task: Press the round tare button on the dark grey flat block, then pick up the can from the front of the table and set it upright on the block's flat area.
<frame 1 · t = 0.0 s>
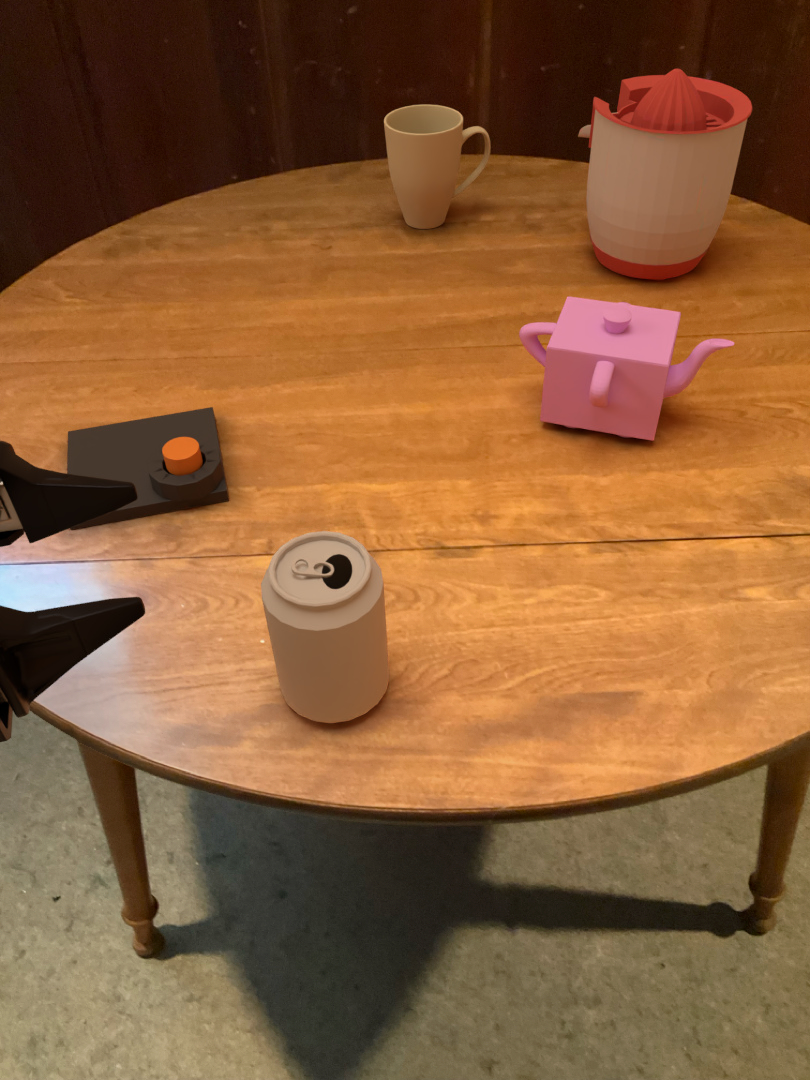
hand: (139, 544, 51), 16 cm above the table, tool horizontal, fingers open, 9 cm apart
teapot: (610, 417, 84), on the table
citrus juicer: (639, 256, 105), on the table
can: (335, 686, 64), on the table
mug: (432, 219, 114), on the table
dark grey flat block: (147, 470, 81), on the table
tare button: (182, 456, 76), point 4 cm above the table, slide at 0.2 cm
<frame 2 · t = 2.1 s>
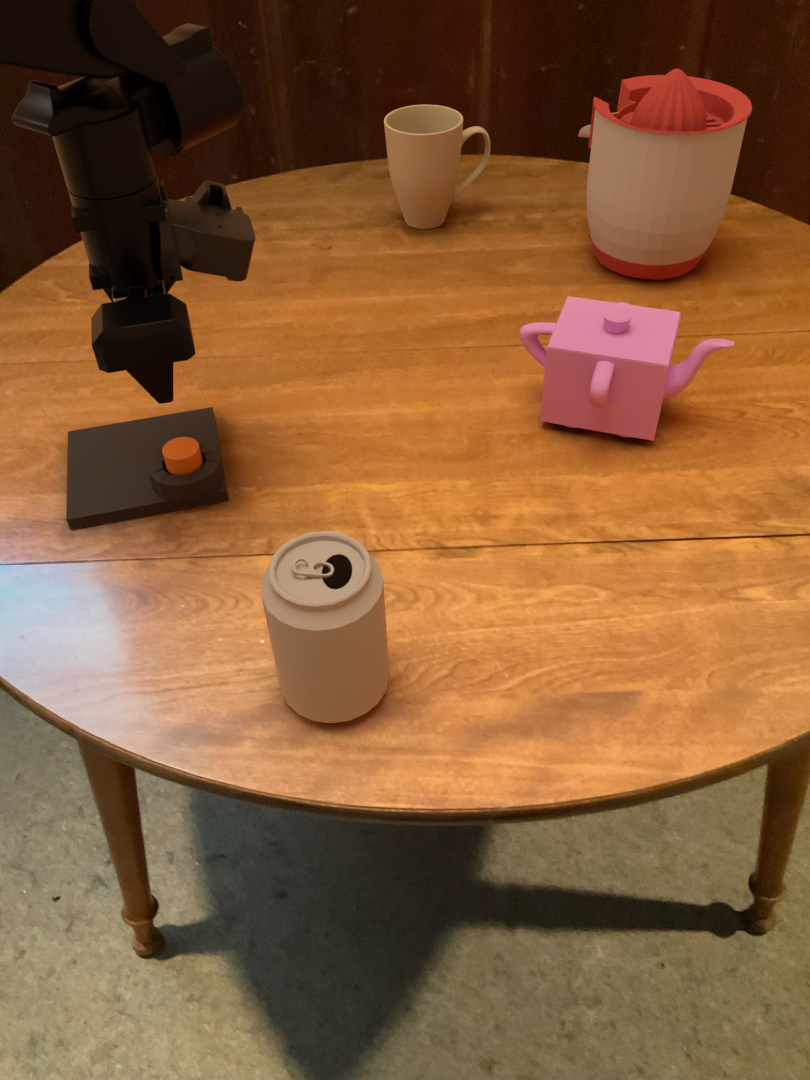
hand: (163, 380, 71), 11 cm above the table, tool pointing down, fingers open, 5 cm apart
nothing on the table moved.
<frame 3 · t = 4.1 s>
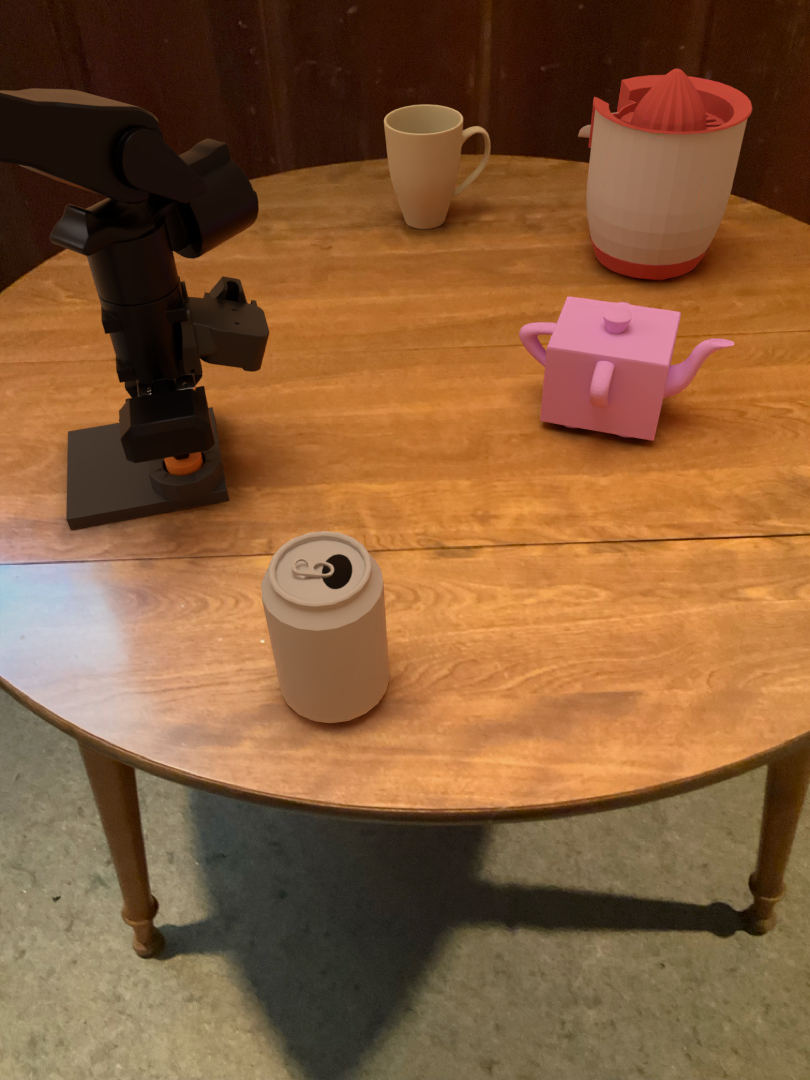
hand: (182, 456, 76), 4 cm above the table, tool pointing down, fingers closed, pressing on tare button
tare button: (184, 464, 77), point 3 cm above the table, slide at -0.7 cm, touching gripper
everything else where it was.
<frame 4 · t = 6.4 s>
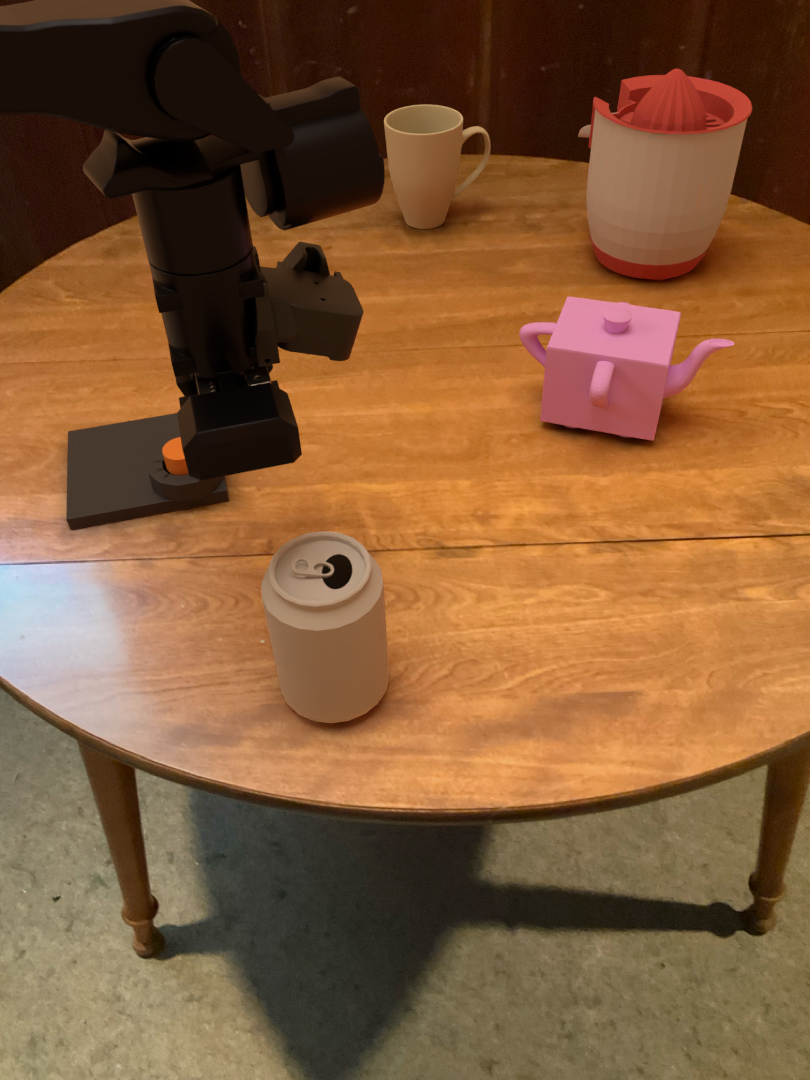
hand: (244, 468, 61), 12 cm above the table, tool pointing down, fingers closed
tare button: (182, 456, 76), point 4 cm above the table, slide at 0.2 cm
everything else where it was.
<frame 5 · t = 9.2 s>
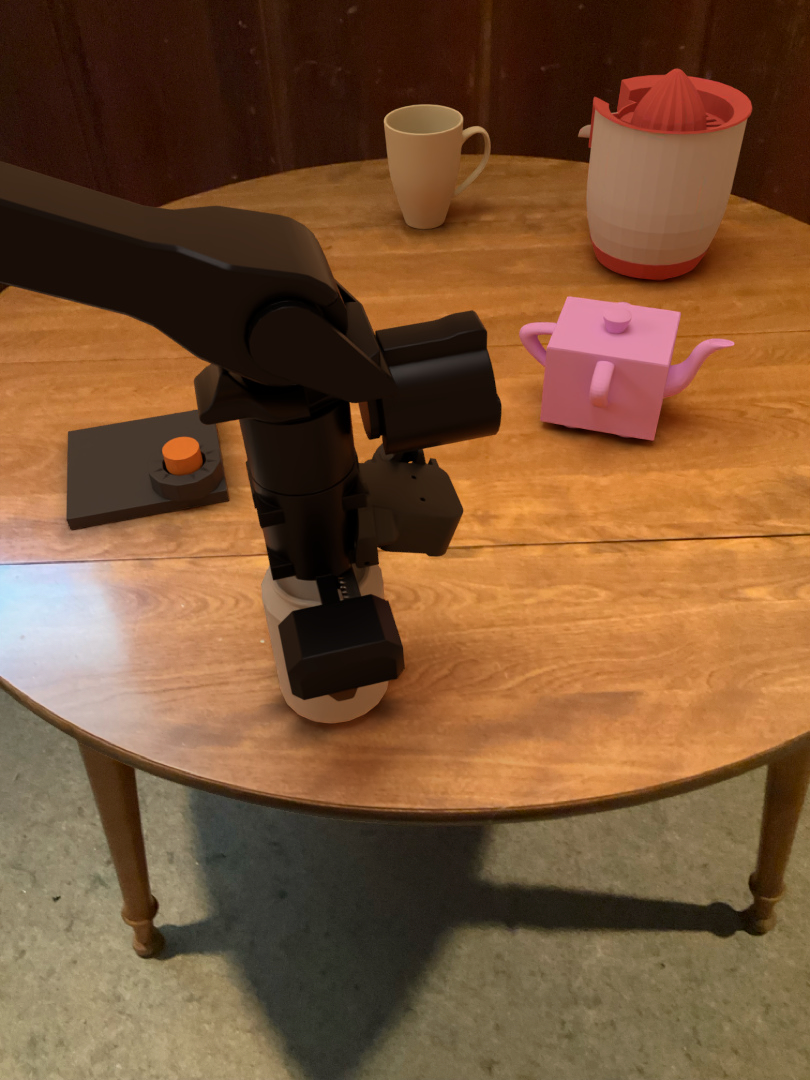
hand: (332, 643, 61), 4 cm above the table, tool pointing down
can: (336, 686, 64), on the table, touching gripper
everything else where it was.
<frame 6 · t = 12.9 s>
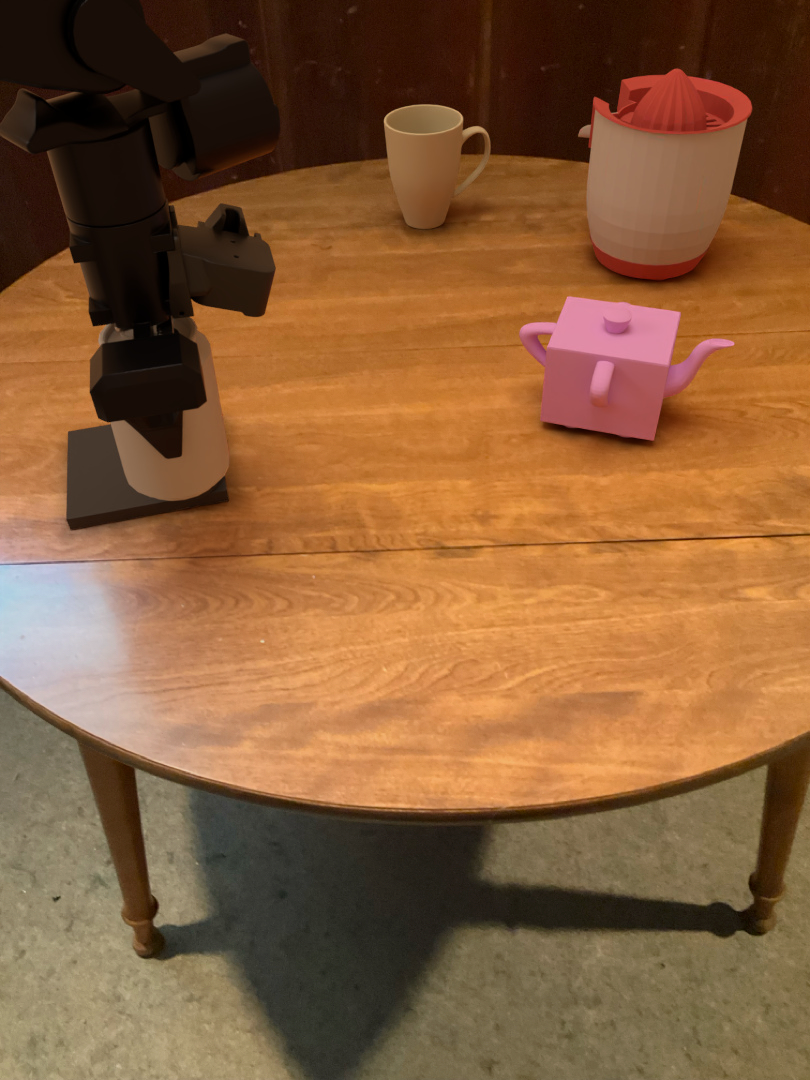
hand: (170, 422, 64), 13 cm above the table, tool pointing down, fingers closed on can, 7 cm apart
can: (180, 476, 68), point 8 cm above the table, touching gripper
everything else where it was.
when the fingers open (6 cm above the table, at t = 16.8 s): can stays where it is, resting on dark grey flat block.
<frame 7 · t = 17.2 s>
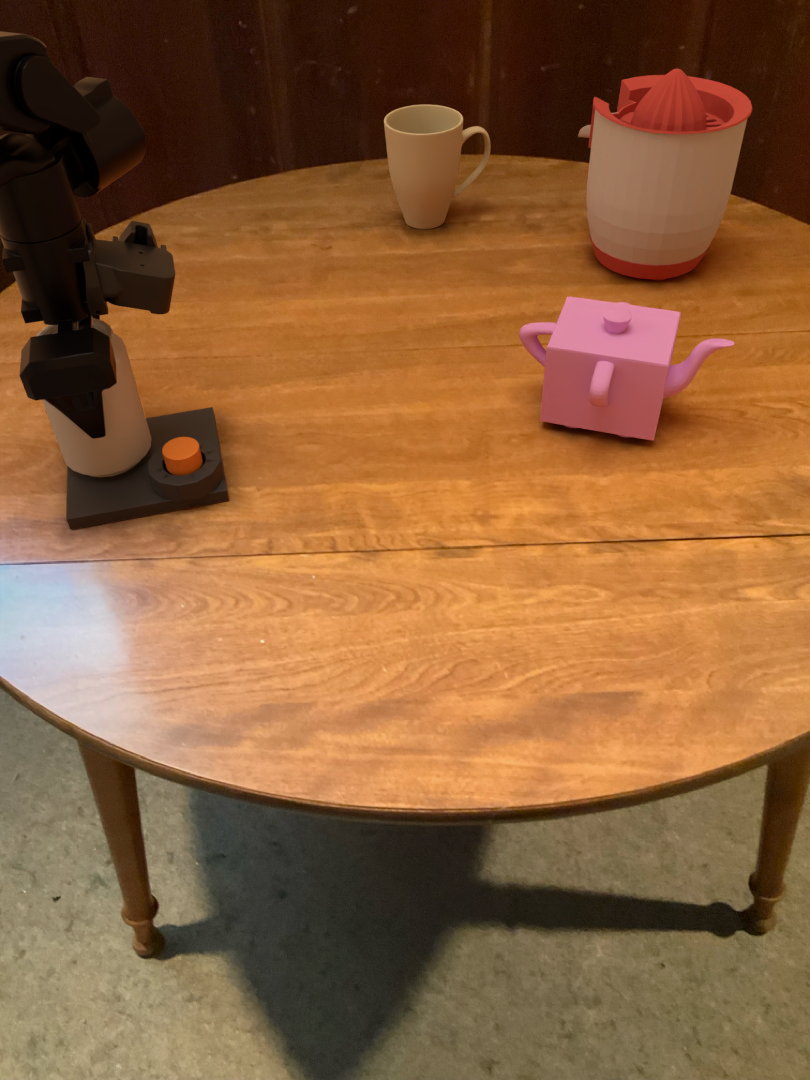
hand: (98, 403, 77), 7 cm above the table, tool pointing down, fingers open, 9 cm apart
can: (110, 457, 81), point 1 cm above the table, touching dark grey flat block
everything else where it was.
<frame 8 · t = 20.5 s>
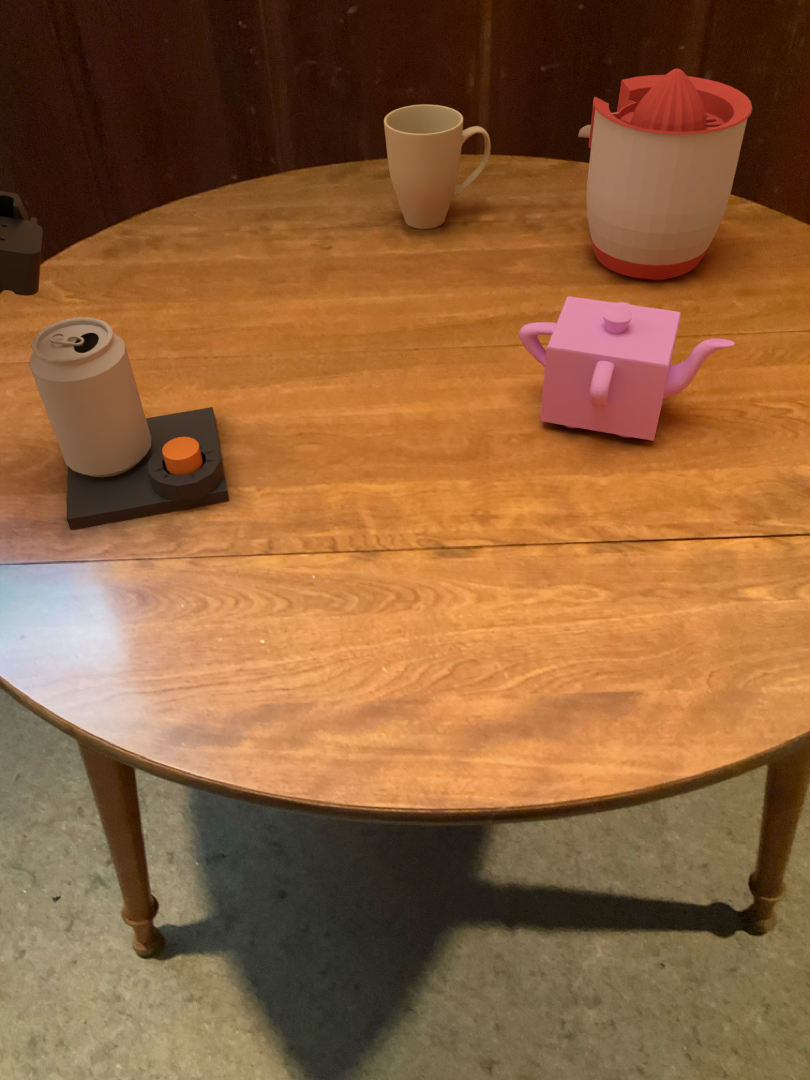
nothing on the table moved.
at the end: tare button pushed in 1.1 cm at the most during the clip, back to 0.2 cm at the end; can inside the target area on the dark grey flat block (0.3 cm from its centre), point 1.0 cm above the dark grey flat block's base; can touching dark grey flat block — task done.
